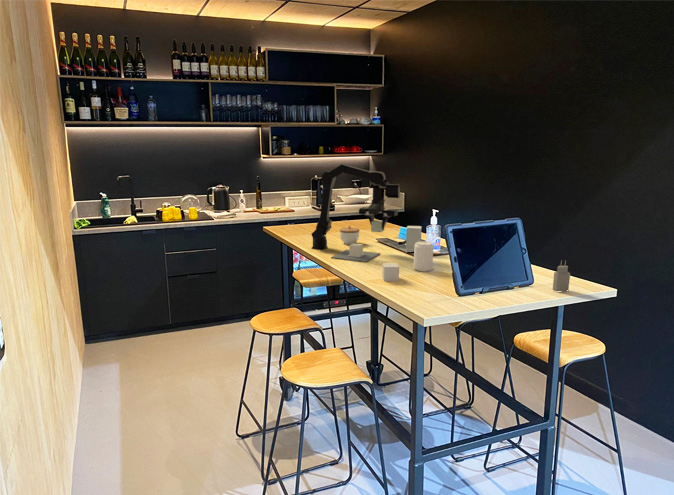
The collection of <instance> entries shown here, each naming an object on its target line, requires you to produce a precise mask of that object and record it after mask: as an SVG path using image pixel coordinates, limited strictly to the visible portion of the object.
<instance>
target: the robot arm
mask: <svg viewBox="0 0 674 495" xmlns="http://www.w3.org/2000/svg"><path fill="white" fill-rule="evenodd" d="M343 173H344V174H347V175H351V176H353V177H358V178H362V179H364V180H367V181H369V182H371V185H370V186H368V189H372V200H371V203H370V204H369V206H368V207H367V206H366V207H364V206H362V207H361V208H360V207H359V209H358V215H364V217H367V219H368V220H369V223H370V225H371V222H372V221H374V220H375V216H377V215H383V216H381V218H382V221H383V222H382V230H383V229H384V230H385V226H386V224H387V222H388V221H389V218H391V217H396V216H398V215H399V214H398V213H399V211H398V209H397V208H396V209H394V208H389V209H387V210H386V208H385V202H386V199H385V197H386V198H387V199H400V197H401V190H400V189H401V188H400V184H399V183H396V184H395V183H394V184H390V183H389V181H388V180H387V178H386V174H385V172H383V171H377V170H376V171H375V170H367V169H364V168H363V169H362V168H359V167H355V166H351V165H348V164H346V163H343V164H340V165H338V166H337V167H335V168H334V169H332V170H328V171H325V172H323V173H322V174H321V186H322V189H323V190H322V197H321V198H322V199H321V207H320V208H321V209H320V215H319V217H318V218H319V219H318V221H317V223H316V227H315V230H314V231H313V232H311V237H312V247H311V249H312V250H313V249H315V250H325V249H328V240H327V233H329V231H331V229H332V223H333V220H332V219H330V208H331V201H332V200H331V199H332V194H333V193H332V192H333V189H334V186H335V183H336V181H337V178H338V177H339V176H341V175H342V174H343Z"/></svg>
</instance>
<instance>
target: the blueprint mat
mask: <svg viewBox="0 0 674 495" xmlns="http://www.w3.org/2000/svg"><path fill="white" fill-rule="evenodd" d="M380 255H381V253H380V252H373V251H364V250H363V254H362V255H361V256H350V255H349V249H345V250H343V251H341V252H338V253H337V254H335V255H332V256H331V257H330V258H331V259H333V258H335V260H343V261H351V262H359V263H368V262H370V261H371V260H373V259H375V258H376V257H378V256H380Z"/></svg>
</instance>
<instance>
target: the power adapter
mask: <svg viewBox="0 0 674 495" xmlns="http://www.w3.org/2000/svg"><path fill="white" fill-rule="evenodd" d="M562 262H563V260H562V259H561V260H560V265H558V266H557V271H554V273H553V283H552V290H554V291H567V290H568V291H569V288H570V278H571V273H570V272H569V271H568V269H569V266H568V265H566V264H567V260H564V265H562ZM554 291H553V292H554Z"/></svg>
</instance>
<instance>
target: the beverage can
mask: <svg viewBox="0 0 674 495" xmlns="http://www.w3.org/2000/svg"><path fill="white" fill-rule="evenodd" d="M433 262H434V244H433V242H431V241H425V240H421V241H418V242H416V244H415V246H414V253H413V269H414V270H416V271H417V272H429V271H432V270H433Z"/></svg>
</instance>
